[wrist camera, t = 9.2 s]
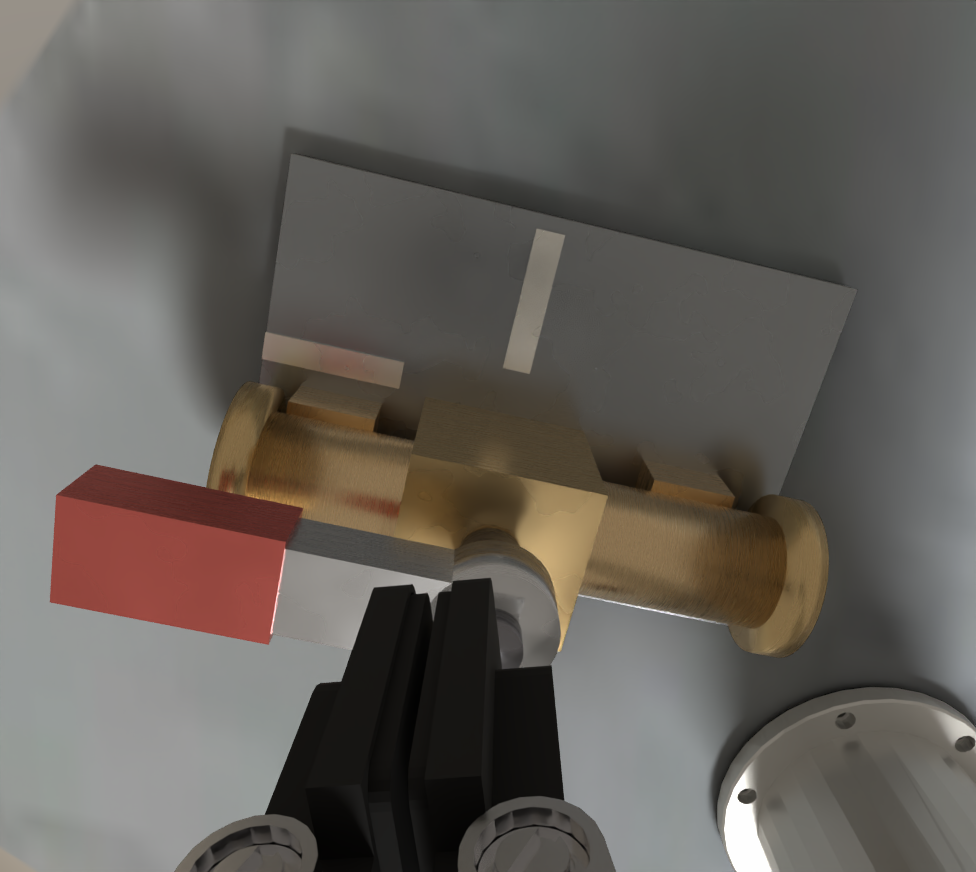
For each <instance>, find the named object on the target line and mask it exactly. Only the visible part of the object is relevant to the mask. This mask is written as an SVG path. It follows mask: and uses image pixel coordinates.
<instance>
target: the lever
mask: <svg viewBox="0 0 976 872" xmlns="http://www.w3.org/2000/svg"><path fill="white" fill-rule="evenodd" d="M302 514H303V508H301V507H297V506H292V505H287V504H282V503H277V502H273V501H268V500H263V499H258V498H253V497H249V496H244V495H239V494H234V493H230V492H225V491H220V490H215V489H210V488H206V487H201V486H196V485H191V484H187V483H182V482H177V481H172V480H167V479H163V478H158V477H153V476H148V475H144V474H139V473H134V472H129V471H124V470H120V469H115V468H110V467H105V466H100V465H94V466H93V467H92V468H90V469H89V470H88V471H87V472H85V473H84V474H83V475H81V476H80V477H79V478H78V479H76V480H75V481H74V482H72V483H71V484H70V485H68V486H67V487H66V488H65V489H63V490H62V491H61V492H59V493H58V494H57V495H56V508H55V525H54V542H53V558H52V575H51V592H50V602H51V603H57V604H62V605H67V606H72V607H77V608H82V609H87V610H93V611H98V612H103V613H108V614H113V615H118V616H124V617H129V618H134V619H139V620H144V621H149V622H154V623H160V624H165V625H170V626H175V627H180V628H185V629H191V630H196V631H201V632H206V633H211V634H216V635H221V636H227V637H232V638H237V639H242V640H247V641H252V642H257V643H263V644H268V645H269V642H270V640H271V638H272V636H273V635H277V636H282V637H288V638H293V639H298V640H303V641H308V642H313V643H318V644H323V645H329V646H334V647H339V648H344V649H349V650H352V649H353V646H354V643H355V640H356V637H357V634H358V631H359V628H360V626H361V623H362V620H363V617H364V614H365V611H366V608H367V605H368V602H369V599H370V596H371V593H372V590H373V589H374V587H385V586H397V585H409V584H413V586H414V588H415V591H416V594H422V593H428V595H429V598H430V603H431V610H432V617H433V621H434V615H435V610H436V604H437V598H438V593H439V592H446V591H451V588H452V583H453V581H457V580H469V579H481V578H491V580H492V585H493V593H494V601H495V610H496V619H497V627H498V636H499V645H500V653H501V662H502V669H511V668H524V667H537V666H550V664H551V663H552V661H553V660H554V658H555V656H556V654H557V651H558V648H559V644H560V638H561V628H560V621H559V615H558V609H557V603H556V597H555V591H554V586H553V582H552V579H551V577H550V574H549V572H548V571H547V569H546V567H545V566H544V565H543V564H542V562H541V561H540V560H539V559H538V558H537V557H536V556H535V555H533V554H532V553H531V552H529V551H527V550H526V549H524V548H522V547H520V546H518V545H515V544H512V543H508V542H504V541H497V540H485V541H477V542H472V543H469V544H466V545H463V546H461V547H459V548H457V549H455V550H454V549H449V548H444V547H439V546H434V545H430V544H425V543H420V542H415V541H410V540H405V539H401V538H396V537H391V536H386V535H381V534H377V533H372V532H367V531H362V530H357V529H353V528H348V527H343V526H338V525H333V524H329V523H324V522H319V521H314V520H309V519H305V518H302Z"/></svg>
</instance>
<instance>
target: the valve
mask: <svg viewBox="0 0 976 872" xmlns="http://www.w3.org/2000/svg"><path fill="white" fill-rule="evenodd" d="M856 293H857V289H854V288H851V287H848V286H845V285H841V284H837V283H832V282H828V281H824V280H820V279H816V278H812V277H807V276H803V275H799V274H795V273H791V272H787V271H782V270H778V269H774V268H770V267H766V266H762V265H757V264H753V263H749V262H745V261H741V260H737V259H732V258H728V257H724V256H720V255H716V254H712V253H707V252H703V251H699V250H695V249H691V248H687V247H683V246H678V245H674V244H670V243H666V242H662V241H658V240H653V239H649V238H645V237H641V236H637V235H633V234H628V233H624V232H620V231H616V230H612V229H608V228H603V227H599V226H595V225H591V224H587V223H583V222H578V221H574V220H570V219H566V218H562V217H558V216H553V215H549V214H545V213H541V212H537V211H533V210H528V209H524V208H520V207H516V206H512V205H508V204H503V203H499V202H495V201H491V200H487V199H483V198H478V197H474V196H470V195H466V194H462V193H458V192H453V191H449V190H445V189H441V188H437V187H433V186H429V185H424V184H420V183H416V182H412V181H408V180H404V179H399V178H395V177H391V176H387V175H383V174H379V173H374V172H370V171H366V170H362V169H358V168H354V167H349V166H345V165H341V164H337V163H333V162H329V161H324V160H320V159H316V158H312V157H308V156H304V155H299V154H291V157H290V164H289V171H288V178H287V185H286V193H285V200H284V207H283V214H282V221H281V229H280V236H279V243H278V250H277V257H276V265H275V272H274V279H273V286H272V293H271V301H270V308H269V315H268V322H267V329H266V332H265V339H264V346H263V354H262V366H261V373H260V380H259V383H255V382H251V381H248V382H246V383H245V384H243V385H242V387H241V388H240V389H239V390H238V392H237V393H236V395H235V397H234V398H233V400H232V402H231V404H230V406H229V409H228V411H227V413H226V416H225V418H224V421H223V424H222V426H221V429H220V432H219V435H218V439H217V442H216V445H215V449H214V453H213V457H212V461H211V465H210V470H209V475H208V480H207V486H206V488H210V489H215V490H220V491H225V492H230V493H234V494H239V495H244V496H249V497H253V498H258V499H263V500H268V501H273V502H277V503H282V504H287V505H292V506H297V507H301V508H303V514H302V518H305V519H309V520H314V521H319V522H324V523H329V524H333V525H338V526H343V527H348V528H353V529H357V530H362V531H367V532H372V533H377V534H381V535H386V536H391V537H396V538H401V539H405V540H410V541H415V542H420V543H425V544H430V545H434V546H439V547H444V548H449V549H454V550H455V549H457V548H459V547H461V546H463V545H466V544H469V543H472V542H477V541H485V540H497V541H504V542H508V543H512V544H515V545H518V546H520V547H522V548H524V549H526V550H527V551H529V552H531V553H532V554H533V555H535V556H536V557H537V558H538V559H539V560H540V561H541V562H542V564H543V565H544V566H545V567H546V569H547V571H548V572H549V574H550V577H551V579H552V582H553V586H554V591H555V597H556V603H557V609H558V615H559V621H560V628H561V638H560V644H559V648H558V651H561V649H562V645H563V642H564V639H565V636H566V632H567V629H568V626H569V622H570V619H571V616H572V613H573V609H574V606H575V603H576V599H577V596H581V597H586V598H591V599H596V600H601V601H606V602H611V603H616V604H621V605H626V606H631V607H636V608H641V609H646V610H651V611H656V612H661V613H666V614H671V615H676V616H681V617H686V618H691V619H696V620H701V621H706V622H711V623H716V624H721V625H726V626H728V627H729V630H730V633H731V635H732V637H733V639H734V641H735V642H736V644H737V645H738V646H739V647H740V648H741V649H743V650H744V651H747V652H750V653H755V654H760V655H766V656H771V657H776V658H783V657H787V656H789V655H791V654H793V653H794V652H796V651H797V650H798V649H799V648H800V647H801V646H802V645H803V644H804V642H805V641H806V640H807V638H808V637H809V635H810V634H811V632H812V630H813V628H814V626H815V624H816V622H817V619H818V617H819V614H820V611H821V608H822V605H823V601H824V597H825V593H826V587H827V580H828V569H829V553H828V543H827V537H826V532H825V528H824V525H823V523H822V520H821V518H820V516H819V514H818V512H817V511H816V510H815V509H814V507H813V506H811V505H810V504H809V503H807V502H805V501H802V500H797V499H793V498H788V497H784V496H779V494H780V491H781V489H782V486H783V484H784V481H785V478H786V476H787V473H788V471H789V468H790V465H791V463H792V460H793V458H794V455H795V452H796V450H797V447H798V444H799V442H800V439H801V437H802V434H803V431H804V429H805V426H806V424H807V421H808V418H809V416H810V413H811V411H812V408H813V405H814V403H815V400H816V397H817V395H818V392H819V390H820V387H821V384H822V382H823V379H824V377H825V374H826V371H827V369H828V366H829V364H830V361H831V358H832V356H833V353H834V350H835V348H836V345H837V343H838V340H839V337H840V335H841V332H842V330H843V327H844V324H845V322H846V319H847V317H848V314H849V311H850V309H851V306H852V303H853V301H854V298H855V296H856Z"/></svg>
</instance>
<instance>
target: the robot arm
mask: <svg viewBox="0 0 976 872" xmlns="http://www.w3.org/2000/svg"><path fill="white" fill-rule="evenodd" d="M717 824H718V828H719V832H720V836H721V839H722V843H723V846H724V848H725V851H726V853H727V856H728V858H729V861H730V863H731V866H732V867H733V869H734V870H735V872H976V727H975V726H974V725H973V724H972V723H971V722H970V721H969V720H968V719H967V718H966V717H965V716H964V715H963V714H962V713H960V712H959V711H957V710H956V709H954V708H953V707H951V706H950V705H948V704H947V703H945V702H943V701H940V700H938V699H935V698H933V697H930V696H928V695H925V694H923V693H919V692H914V691H909V690H904V689H899V688H881V687H866V688H858V689H851V690H843V691H838V692H835V693H831V694H828V695H824V696H821V697H817V698H814V699H812V700H809V701H807V702H805V703H803V704H801V705H799V706H796V707H794V708H792V709H790V710H788V711H786V712H785V713H783V714H782V715H780V716H779V717H777V718H776V719H774V720H773V721H771V722H770V723H768V724H767V725H765V726H764V727H763V728H762V729H761V730H760V731H759V732H758V733H757V734H756V735H754V736H753V737H752V738H751V739H750V740H749V741H748V742H747V743H746V744H745V746H744V747H743V748H742V750H741V751H740V752H739V754H738V755H737V756H736V758H735V759H734V760H733V762H732V763H731V765H730V767H729V769H728V772H727V774H726V776H725V778H724V780H723V782H722V785H721V790H720V794H719V798H718V803H717ZM174 872H616V870H615V867H614V865H613V862H612V859H611V856H610V853H609V850H608V847H607V844H606V841H605V839H604V836H603V835H602V833H601V831H600V829H599V828H598V826H597V824H596V822H595V821H594V820H593V819H592V818H591V817H590V816H588V815H587V814H586V813H585V812H584V811H583V810H582V809H580V808H579V807H576V806H574V805H572V804H570V803H568V802H565V801H564V793H563V782H562V772H561V761H560V750H559V740H558V729H557V719H556V708H555V697H554V687H553V676H552V666H551V665H550V666H537V667H524V668H511V669H502V662H501V653H500V645H499V636H498V627H497V619H496V610H495V601H494V593H493V585H492V580H491V578H481V579H469V580H457V581H453V583H452V588H451V591H446V592H439V593H438V598H437V604H436V610H435V615H434V621H433V617H432V610H431V603H430V598H429V595H428V593H422V594H416V591H415V588H414V586H413V584H409V585H397V586H385V587H374V589H373V590H372V593H371V596H370V599H369V602H368V605H367V608H366V611H365V614H364V617H363V620H362V623H361V626H360V628H359V631H358V634H357V637H356V640H355V643H354V646H353V649H352V652H351V655H350V658H349V661H348V664H347V667H346V670H345V672H344V675H343V678H342V681H341V682H331V683H320V684H318V685H317V686H316V687H315V689H314V691H313V693H312V696H311V698H310V701H309V703H308V706H307V708H306V711H305V713H304V716H303V719H302V721H301V724H300V726H299V729H298V731H297V734H296V736H295V739H294V742H293V744H292V747H291V749H290V752H289V754H288V757H287V759H286V762H285V765H284V767H283V770H282V772H281V775H280V777H279V780H278V782H277V785H276V788H275V790H274V793H273V795H272V798H271V800H270V803H269V805H268V808H267V811H266V813H265V815H258V816H252V817H249V818H246V819H242V820H239V821H235V822H233V823H231V824H229V825H227V826H225V827H223V828H221V829H219V830H217V831H215V832H213V833H212V834H210V835H209V836H208V837H206V838H205V839H204V840H203V841H201V842H200V843H199V844H197V845H196V846H195V847H194V848H193V849H192V850H191V851H190V852H189V853H188V855H187V856H186V857H185V858H184V859H183V861H182V862H181V863H180V864H179V865H178V867H177V868H176V870H175V871H174Z"/></svg>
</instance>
